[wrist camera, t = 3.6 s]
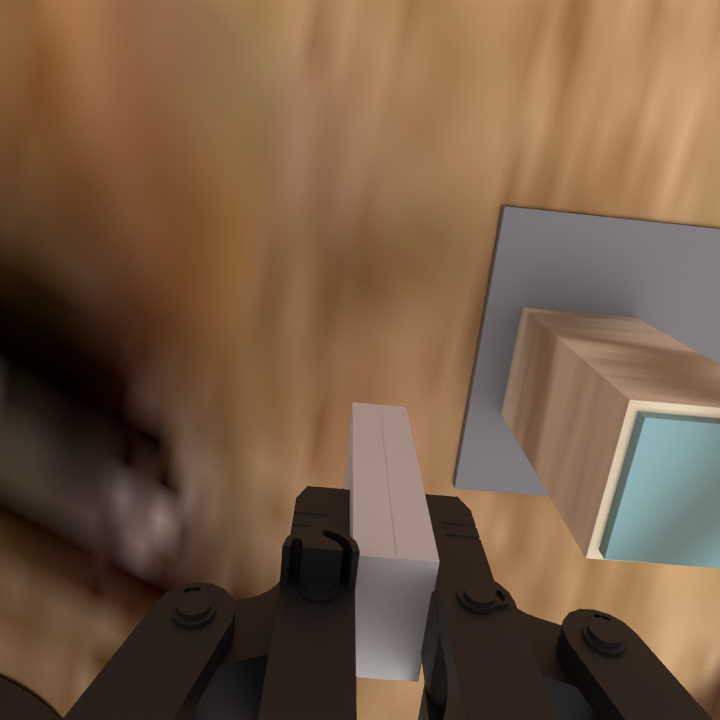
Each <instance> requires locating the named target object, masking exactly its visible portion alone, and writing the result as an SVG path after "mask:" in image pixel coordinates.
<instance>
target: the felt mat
mask: <svg viewBox="0 0 720 720" xmlns="http://www.w3.org/2000/svg"><path fill="white" fill-rule="evenodd" d="M522 307H529V308H539V309H549V310H560V311H570V312H580V313H591V314H601V315H611V316H621V317H632V318H638V319H640V320H641V321H643V322H645V323H647V324H649V325H650V326H652V327H654V328H656V329H658V330H659V331H661V332H663V333H665V334H666V335H668V336H670V337H672V338H674V339H675V340H677V341H679V342H681V343H683V344H684V345H686V346H688V347H690V348H691V349H693V350H695V351H697V352H699V353H700V354H702V355H704V356H706V357H708V358H709V359H711V360H713V361H715V362H716V363H718V364H720V229H718V228H709V227H700V226H690V225H681V224H671V223H662V222H652V221H643V220H633V219H624V218H615V217H605V216H596V215H586V214H577V213H567V212H558V211H548V210H539V209H530V208H520V207H511V206H502V212H501V217H500V223H499V229H498V234H497V240H496V246H495V251H494V257H493V263H492V268H491V274H490V279H489V285H488V291H487V296H486V302H485V308H484V313H483V319H482V325H481V330H480V336H479V341H478V347H477V353H476V358H475V364H474V370H473V375H472V381H471V387H470V392H469V398H468V403H467V409H466V415H465V420H464V426H463V432H462V437H461V443H460V449H459V454H458V460H457V465H456V471H455V477H454V482H453V485H454V488H457V489H470V490H482V491H494V492H507V493H519V494H531V495H544V496H549V494H548V493H547V491H546V489H545V488H544V486H543V484H542V483H541V481H540V479H539V477H538V476H537V474H536V472H535V471H534V469H533V467H532V466H531V464H530V462H529V461H528V459H527V457H526V455H525V454H524V452H523V450H522V449H521V447H520V445H519V444H518V442H517V440H516V438H515V437H514V435H513V433H512V432H511V430H510V428H509V427H508V425H507V423H506V422H505V420H504V418H503V416H502V415H501V412H502V407H503V402H504V397H505V392H506V387H507V382H508V377H509V372H510V367H511V362H512V357H513V352H514V347H515V342H516V337H517V332H518V327H519V322H520V317H521V312H522Z"/></svg>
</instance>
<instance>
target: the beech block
mask: <svg viewBox="0 0 720 720" xmlns="http://www.w3.org/2000/svg"><path fill="white" fill-rule="evenodd" d="M501 415H502V416H503V418H504V420H505V422H506V423H507V425H508V427H509V428H510V430H511V432H512V433H513V435H514V437H515V438H516V440H517V442H518V444H519V445H520V447H521V449H522V450H523V452H524V454H525V455H526V457H527V459H528V461H529V462H530V464H531V466H532V467H533V469H534V471H535V472H536V474H537V476H538V477H539V479H540V481H541V483H542V484H543V486H544V488H545V489H546V491H547V493H548V494H549V496H550V498H551V500H552V501H553V503H554V505H555V506H556V508H557V510H558V511H559V513H560V515H561V516H562V518H563V520H564V522H565V523H566V525H567V527H568V528H569V530H570V532H571V533H572V535H573V537H574V539H575V540H576V542H577V544H578V545H579V547H580V549H581V550H582V552H583V554H584V555H585V557H586V558H592V559H605V560H618V561H631V562H645V563H658V564H671V565H684V566H697V567H710V568H720V364H718V363H716V362H715V361H713V360H711V359H709V358H708V357H706V356H704V355H702V354H700V353H699V352H697V351H695V350H693V349H691V348H690V347H688V346H686V345H684V344H683V343H681V342H679V341H677V340H675V339H674V338H672V337H670V336H668V335H666V334H665V333H663V332H661V331H659V330H658V329H656V328H654V327H652V326H650V325H649V324H647V323H645V322H643V321H641V320H640V319H638V318H632V317H621V316H611V315H601V314H591V313H580V312H570V311H560V310H549V309H539V308H529V307H522V312H521V317H520V322H519V327H518V332H517V337H516V342H515V347H514V352H513V357H512V362H511V367H510V372H509V377H508V382H507V387H506V392H505V397H504V402H503V407H502V412H501Z"/></svg>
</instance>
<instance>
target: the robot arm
mask: <svg viewBox="0 0 720 720" xmlns="http://www.w3.org/2000/svg"><path fill="white" fill-rule="evenodd" d="M421 663H422V665H423V673H424V680H425V684H424V689H423V695H422V700H421V706H420V711H419V717H418V720H712V719H711V718H710V717H709V715H708V714H707V713H706V712H705V711H704V710H703V709H702V707H701V706H700V705H699V704H698V703H697V702H696V701H695V700H694V698H693V697H692V696H691V695H690V694H689V693H688V692H687V690H686V689H685V688H684V687H683V686H682V685H681V684H680V683H679V681H678V680H677V679H676V678H675V677H674V676H673V675H672V673H671V672H670V671H669V670H668V669H667V668H666V667H665V665H664V664H663V663H662V662H661V661H660V660H659V659H658V658H657V656H656V655H655V654H654V653H653V652H652V651H651V650H650V648H649V647H648V646H647V645H646V644H645V643H644V642H643V640H642V639H641V638H640V637H639V636H638V635H637V634H636V633H635V632H634V631H633V630H632V629H631V628H630V627H628V626H627V625H626V624H625V623H624V622H622V621H620V620H618V619H617V618H615V617H613V616H611V615H610V614H606V613H603V612H600V611H597V610H590V609H579V610H576V611H573V612H570V613H569V614H568V615H567V616H566V617H565V619H564V620H563V623H562V625H558V624H555V623H552V622H549V621H546V620H543V619H539V618H536V617H534V616H531V615H529V614H526V613H524V612H522V611H521V610H519V609H517V607H516V604H515V601H514V600H513V598H512V597H511V595H510V593H509V592H508V591H507V590H506V589H505V588H503V587H502V586H501V585H500V584H499V583H497V582H495V581H494V579H493V576H492V573H491V570H490V567H489V564H488V561H487V558H486V555H485V552H484V549H483V546H482V543H481V540H479V534H478V531H477V528H475V522H474V519H473V516H472V513H471V510H470V509H469V508H468V507H467V506H466V505H465V504H464V503H463V502H462V501H461V500H460V499H459V498H458V497H452V496H440V495H428V494H425V492H424V488H423V483H422V478H421V474H420V469H419V464H418V460H417V455H416V451H415V446H414V441H413V437H412V432H411V427H410V423H409V418H408V414H407V409H406V407H400V406H389V405H378V404H367V403H355V402H353V404H352V413H351V423H350V432H349V441H348V451H347V460H346V469H345V479H344V489H336V488H323V487H311V486H307V487H306V488H305V489H304V490H303V491H302V492H301V494H300V495H299V496H298V497H297V498H296V503H295V510H294V516H293V522H292V528H291V534H290V535H289V536H288V537H287V538H286V540H285V542H284V544H283V548H282V562H281V576H280V581H279V582H278V584H277V585H276V586H274V587H273V588H272V589H271V590H269V591H267V592H265V593H263V594H261V595H259V596H255V597H251V598H248V599H242V600H236V601H233V598H232V597H231V596H230V594H229V593H228V592H227V591H226V590H225V589H223V588H220V587H218V586H216V585H214V584H208V583H198V582H197V583H191V584H185V585H181V586H179V587H176V588H174V589H172V590H170V591H168V592H166V593H165V594H164V595H163V596H162V597H161V598H160V599H158V600H157V601H156V603H155V604H154V605H153V606H152V608H151V609H150V610H149V611H148V613H147V614H146V615H145V616H144V618H143V619H142V620H141V621H140V623H139V624H138V625H137V627H136V628H135V629H134V630H133V632H132V633H131V634H130V635H129V637H128V638H127V639H126V640H125V642H124V643H123V644H122V645H121V647H120V648H119V649H118V650H117V652H116V653H115V654H114V655H113V657H112V658H111V659H110V660H109V662H108V663H107V664H106V665H105V667H104V668H103V669H102V670H101V672H100V673H99V674H98V675H97V677H96V678H95V679H94V681H93V682H92V683H91V684H90V686H89V687H88V688H87V689H86V691H85V692H84V693H83V694H82V696H81V697H80V698H79V699H78V701H77V702H76V703H75V704H74V706H73V707H72V708H71V709H70V711H69V712H68V713H67V714H66V716H65V717H64V718H63V719H62V720H357V712H356V677H359V678H374V679H388V680H403V681H418V680H419V674H420V669H421ZM0 720H59V718H58V717H57V716H56V715H55V714H54V713H53V712H52V711H51V710H50V709H49V708H48V707H47V706H45V705H44V704H43V703H42V702H41V701H39V700H38V699H37V698H35V697H34V696H33V695H31V694H30V693H28V692H26V691H25V690H23V689H22V688H20V687H18V686H16V685H15V684H13V683H11V682H9V681H7V680H5V679H2V678H0Z"/></svg>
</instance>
